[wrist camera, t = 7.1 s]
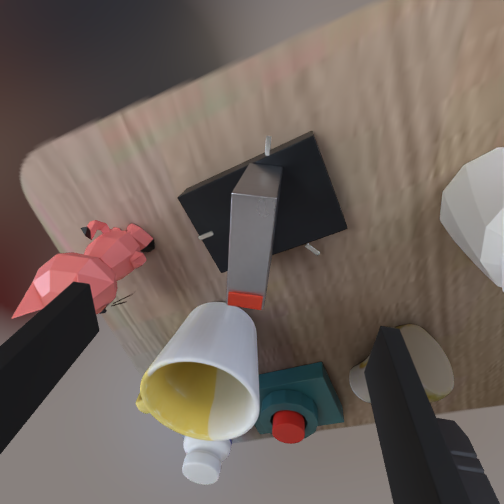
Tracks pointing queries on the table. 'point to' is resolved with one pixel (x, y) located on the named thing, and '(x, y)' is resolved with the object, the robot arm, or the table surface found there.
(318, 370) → the switch
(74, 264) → the pink cat figurine
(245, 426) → the mug
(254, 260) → the spout
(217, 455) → the pill bottle
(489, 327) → the table surface
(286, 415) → the button
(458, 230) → the vase
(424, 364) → the mug
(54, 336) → the robot arm
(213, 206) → the plate
